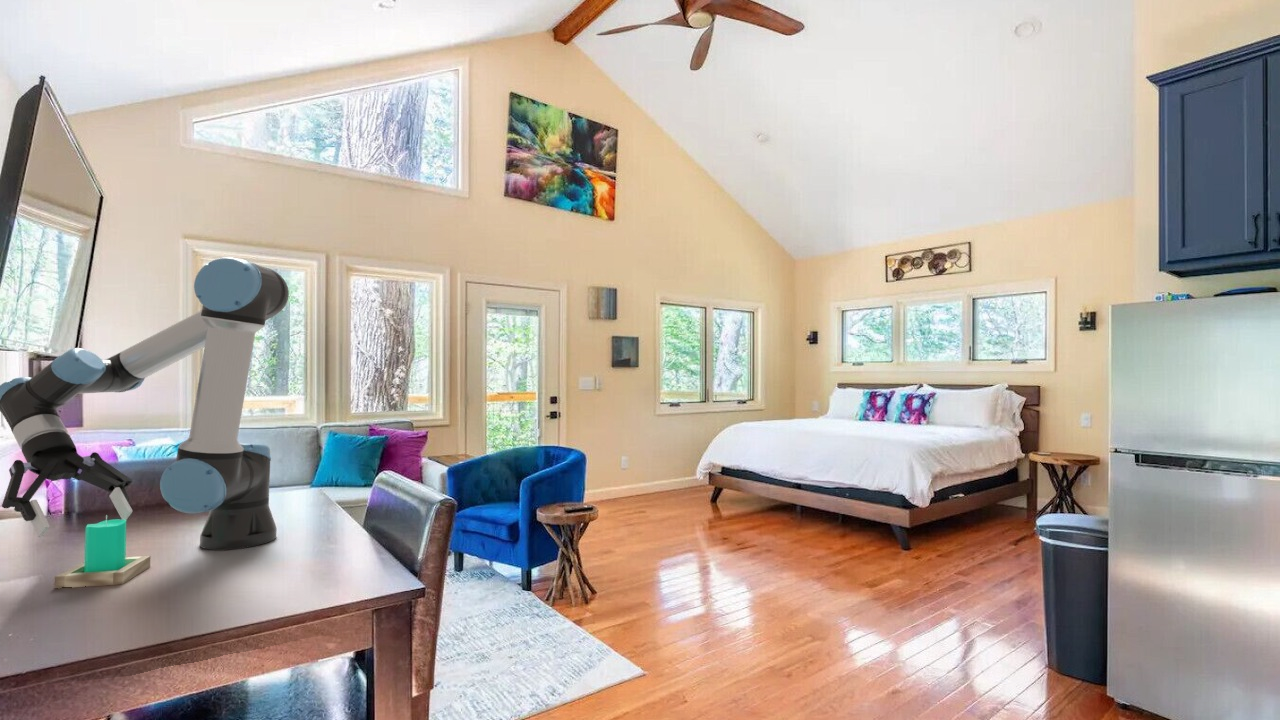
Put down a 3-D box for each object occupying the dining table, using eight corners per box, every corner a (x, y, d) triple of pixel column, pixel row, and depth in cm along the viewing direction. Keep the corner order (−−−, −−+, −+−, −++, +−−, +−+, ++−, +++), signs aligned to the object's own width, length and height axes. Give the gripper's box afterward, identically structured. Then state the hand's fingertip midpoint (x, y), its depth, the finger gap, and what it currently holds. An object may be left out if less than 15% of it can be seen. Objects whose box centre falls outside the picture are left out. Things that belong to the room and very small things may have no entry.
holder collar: (150, 566, 125) (150, 555, 125) (122, 584, 115) (122, 572, 115) (88, 570, 122) (88, 559, 122) (54, 588, 112) (54, 576, 112)
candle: (123, 570, 123) (125, 510, 123) (126, 577, 119) (128, 515, 119) (83, 576, 119) (84, 514, 119) (84, 584, 114) (86, 520, 115)
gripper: (107, 447, 138) (149, 521, 132) (-48, 462, 114) (-6, 552, 109) (123, 425, 136) (166, 498, 130) (-31, 435, 113) (12, 525, 107)
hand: (88, 523), depth 120 cm, fingers open, 13 cm apart
